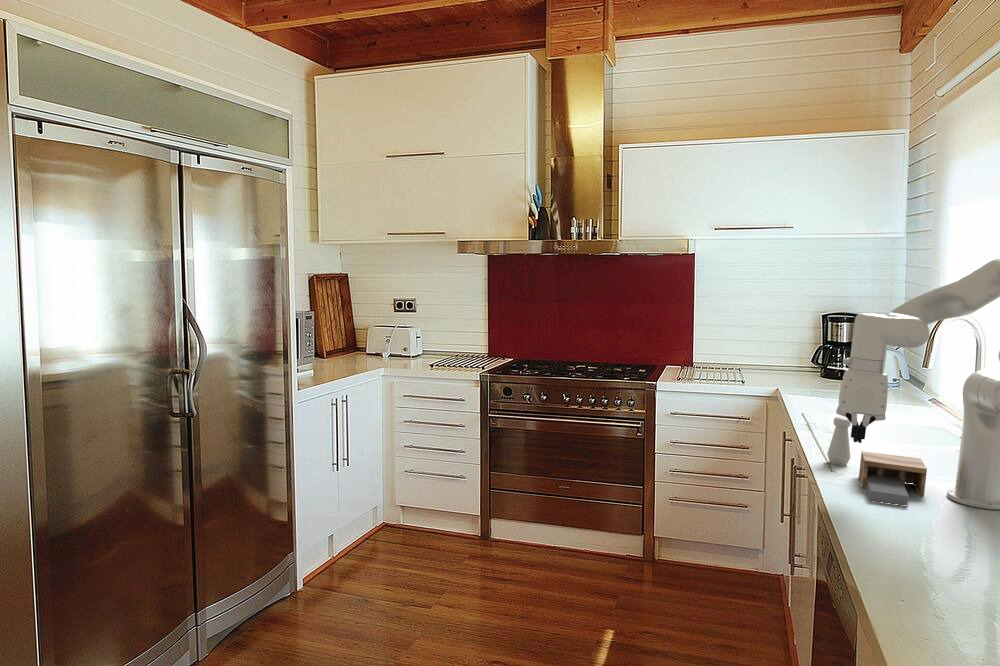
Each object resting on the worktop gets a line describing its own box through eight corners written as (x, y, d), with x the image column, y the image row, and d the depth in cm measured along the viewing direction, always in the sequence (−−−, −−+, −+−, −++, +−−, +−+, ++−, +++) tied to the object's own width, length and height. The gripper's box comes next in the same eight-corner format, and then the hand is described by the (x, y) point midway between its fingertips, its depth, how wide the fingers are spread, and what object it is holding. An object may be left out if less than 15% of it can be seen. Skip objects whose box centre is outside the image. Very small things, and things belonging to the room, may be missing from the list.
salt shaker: (850, 468, 207) (855, 420, 206) (827, 465, 209) (832, 418, 208) (848, 462, 213) (852, 416, 211) (825, 459, 215) (830, 414, 213)
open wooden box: (858, 476, 200) (861, 451, 199) (917, 484, 195) (920, 458, 194) (861, 487, 190) (864, 460, 190) (923, 496, 186) (927, 468, 185)
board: (864, 484, 195) (865, 472, 195) (899, 489, 192) (900, 477, 192) (869, 502, 180) (870, 490, 180) (907, 508, 177) (908, 496, 177)
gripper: (833, 364, 181) (824, 440, 183) (904, 371, 176) (893, 449, 178) (831, 360, 188) (822, 433, 190) (899, 367, 183) (889, 442, 185)
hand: (857, 441), depth 184 cm, fingers closed
